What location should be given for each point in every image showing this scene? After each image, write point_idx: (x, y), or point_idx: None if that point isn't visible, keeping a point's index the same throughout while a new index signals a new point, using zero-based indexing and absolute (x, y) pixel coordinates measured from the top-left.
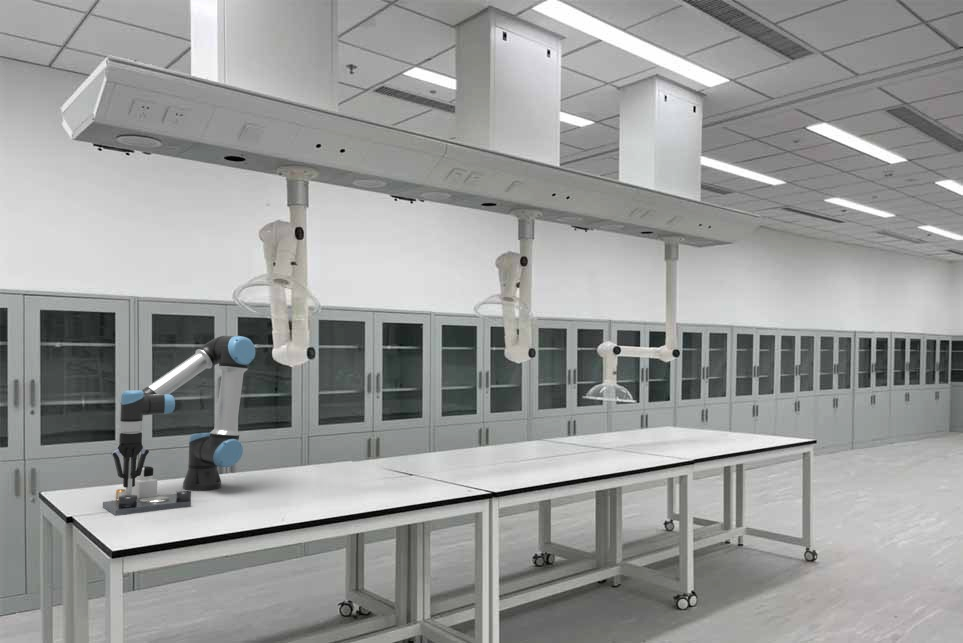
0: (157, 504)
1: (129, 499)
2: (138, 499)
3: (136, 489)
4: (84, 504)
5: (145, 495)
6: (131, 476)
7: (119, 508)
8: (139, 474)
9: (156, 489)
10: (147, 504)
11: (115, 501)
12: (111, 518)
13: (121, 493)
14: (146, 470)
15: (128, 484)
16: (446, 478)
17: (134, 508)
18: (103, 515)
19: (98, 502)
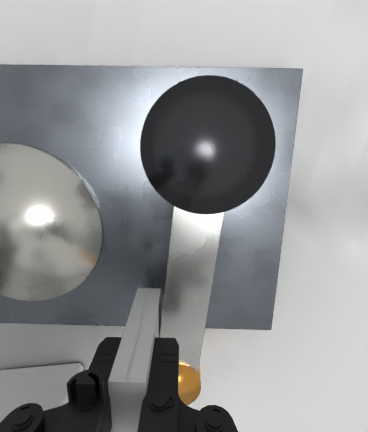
0: (32, 80)
1: (218, 78)
2: (100, 288)
3: None
4: (300, 403)
5: (43, 379)
6: (105, 419)
7: (269, 99)
8: (19, 414)
9: None
10: (88, 121)
11: (217, 305)
12: (337, 11)
13: (202, 299)
14: None
15: (150, 342)
16: None
17: (184, 68)
18: (335, 126)
19: (240, 409)
